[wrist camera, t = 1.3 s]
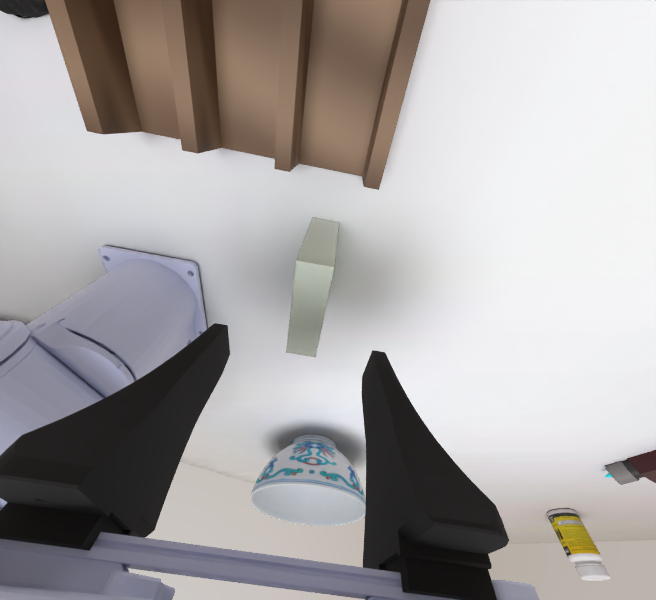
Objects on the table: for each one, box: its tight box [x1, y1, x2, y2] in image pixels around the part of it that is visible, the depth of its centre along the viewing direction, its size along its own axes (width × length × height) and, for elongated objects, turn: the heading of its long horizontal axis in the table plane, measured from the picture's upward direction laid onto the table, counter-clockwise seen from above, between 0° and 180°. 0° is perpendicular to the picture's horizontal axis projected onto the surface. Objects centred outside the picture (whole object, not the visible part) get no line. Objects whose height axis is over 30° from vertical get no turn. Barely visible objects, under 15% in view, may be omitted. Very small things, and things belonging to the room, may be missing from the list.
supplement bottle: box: [547, 509, 611, 581], centre depth 44 cm, size 5×5×8 cm
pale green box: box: [286, 217, 339, 357], centre depth 18 cm, size 7×2×7 cm, turn 170°
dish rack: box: [45, 0, 430, 190], centre depth 11 cm, size 12×15×4 cm
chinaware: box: [250, 434, 366, 526], centre depth 36 cm, size 15×15×8 cm
